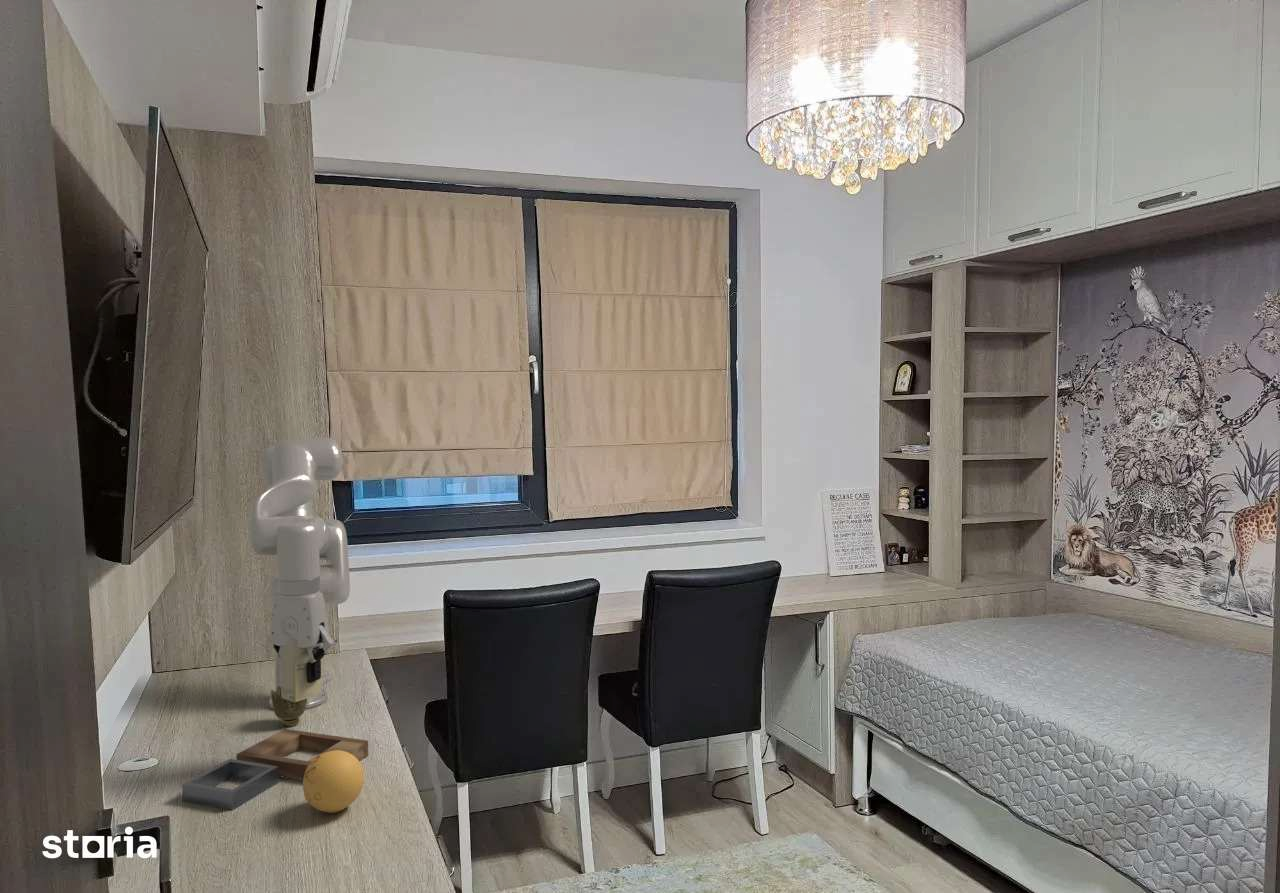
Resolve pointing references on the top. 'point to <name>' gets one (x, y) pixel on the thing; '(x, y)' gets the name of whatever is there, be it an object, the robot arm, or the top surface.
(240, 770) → the frame
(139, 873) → the top surface
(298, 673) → the skincare box
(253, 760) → the wooden tray frame
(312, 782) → the stress ball
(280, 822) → the top surface
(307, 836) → the top surface
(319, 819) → the top surface
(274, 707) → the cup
